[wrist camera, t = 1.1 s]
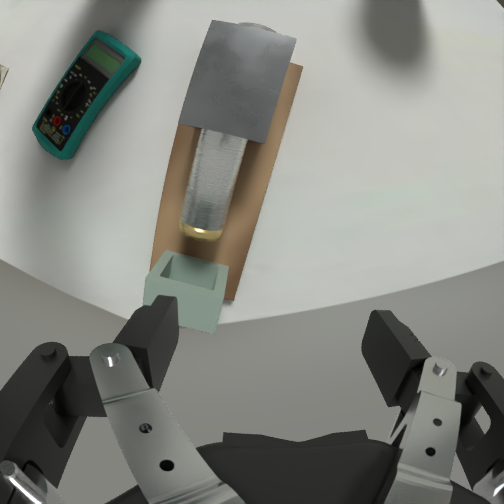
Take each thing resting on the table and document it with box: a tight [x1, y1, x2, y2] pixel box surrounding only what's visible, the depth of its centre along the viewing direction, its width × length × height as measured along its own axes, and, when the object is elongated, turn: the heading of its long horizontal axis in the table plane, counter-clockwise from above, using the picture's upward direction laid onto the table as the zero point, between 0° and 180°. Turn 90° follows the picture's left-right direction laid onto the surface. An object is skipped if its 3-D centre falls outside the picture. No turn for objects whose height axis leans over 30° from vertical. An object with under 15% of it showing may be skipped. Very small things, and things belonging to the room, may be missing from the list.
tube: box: [178, 23, 276, 242], centre depth 22 cm, size 4×19×4 cm, turn 164°
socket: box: [143, 250, 229, 334], centre depth 28 cm, size 7×4×7 cm, turn 74°
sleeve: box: [178, 20, 297, 144], centre depth 21 cm, size 7×9×7 cm
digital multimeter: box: [32, 30, 141, 160], centre depth 23 cm, size 7×15×3 cm, turn 137°
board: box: [150, 62, 303, 301], centre depth 28 cm, size 10×26×2 cm, turn 164°
